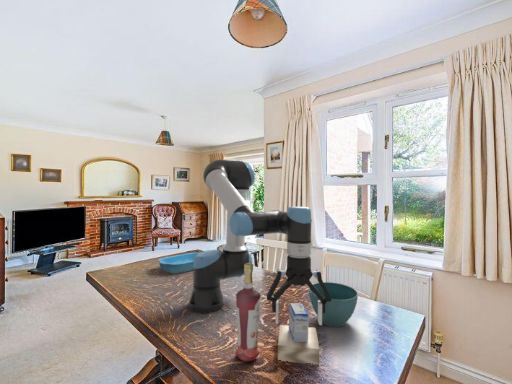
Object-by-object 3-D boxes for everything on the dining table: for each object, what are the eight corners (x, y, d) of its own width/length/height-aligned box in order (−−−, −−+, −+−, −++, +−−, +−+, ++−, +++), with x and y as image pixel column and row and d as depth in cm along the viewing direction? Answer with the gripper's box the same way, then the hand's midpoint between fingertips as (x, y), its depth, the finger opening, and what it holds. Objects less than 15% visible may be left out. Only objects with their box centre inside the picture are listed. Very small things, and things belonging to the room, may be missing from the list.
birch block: (277, 362, 76) (277, 345, 76) (279, 339, 88) (279, 324, 88) (319, 366, 74) (319, 349, 74) (315, 342, 86) (315, 327, 86)
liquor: (254, 368, 72) (255, 268, 73) (231, 361, 75) (232, 266, 75) (263, 353, 79) (264, 262, 79) (241, 347, 82) (242, 260, 82)
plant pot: (351, 340, 87) (352, 303, 87) (301, 325, 97) (301, 292, 97) (361, 318, 102) (361, 287, 103) (317, 307, 112) (317, 279, 112)
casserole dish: (198, 259, 192) (198, 250, 192) (218, 265, 178) (218, 255, 178) (151, 270, 164) (151, 259, 164) (170, 278, 149) (170, 266, 149)
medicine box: (288, 329, 85) (289, 302, 85) (301, 328, 85) (302, 302, 85) (294, 342, 77) (294, 314, 77) (308, 342, 77) (309, 313, 77)
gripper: (259, 257, 78) (258, 327, 78) (342, 258, 77) (341, 329, 77) (259, 252, 85) (259, 315, 85) (335, 253, 85) (334, 317, 84)
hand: (298, 322), depth 81 cm, fingers open, 13 cm apart
